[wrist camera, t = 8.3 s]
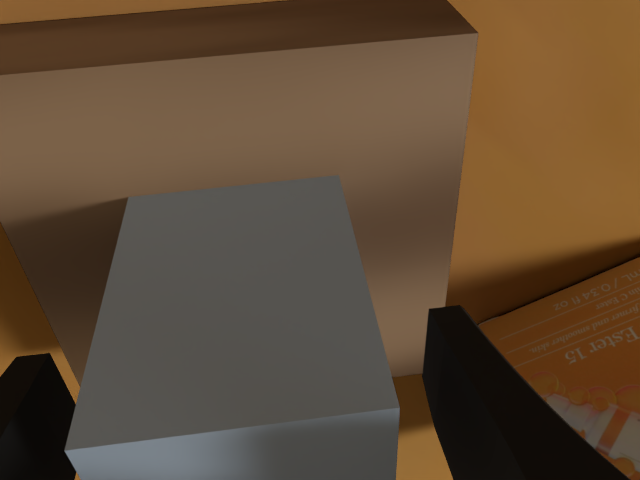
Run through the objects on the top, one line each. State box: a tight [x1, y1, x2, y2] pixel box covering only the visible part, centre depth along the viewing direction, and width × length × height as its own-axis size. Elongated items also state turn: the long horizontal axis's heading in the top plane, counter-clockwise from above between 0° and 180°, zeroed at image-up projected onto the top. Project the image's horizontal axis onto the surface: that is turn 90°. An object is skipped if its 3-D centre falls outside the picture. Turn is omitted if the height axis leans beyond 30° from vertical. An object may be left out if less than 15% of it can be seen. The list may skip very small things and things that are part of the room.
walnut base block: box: [0, 0, 478, 387], centre depth 15 cm, size 10×10×3 cm
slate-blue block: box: [64, 175, 400, 480], centre depth 12 cm, size 4×4×6 cm
